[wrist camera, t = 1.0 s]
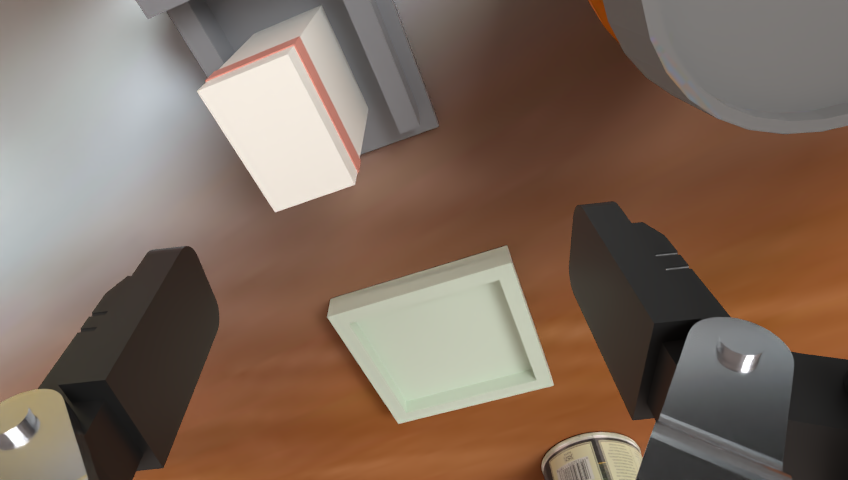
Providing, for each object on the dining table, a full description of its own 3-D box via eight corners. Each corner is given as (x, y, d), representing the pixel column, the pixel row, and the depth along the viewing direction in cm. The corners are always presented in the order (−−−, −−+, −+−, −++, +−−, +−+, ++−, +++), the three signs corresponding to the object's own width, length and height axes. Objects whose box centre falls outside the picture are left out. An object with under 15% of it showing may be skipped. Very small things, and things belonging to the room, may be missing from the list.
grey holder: (346, -124, 24) (334, -124, 20) (438, 122, 31) (442, 156, 27) (149, -31, 26) (105, -16, 22) (278, 179, 33) (262, 218, 29)
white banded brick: (322, 3, 26) (288, 52, 19) (369, 109, 30) (356, 185, 23) (252, 33, 27) (194, 90, 20) (306, 132, 31) (274, 213, 23)
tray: (507, 245, 37) (511, 262, 35) (548, 366, 44) (553, 385, 43) (330, 298, 39) (327, 317, 38) (398, 404, 47) (398, 423, 45)
